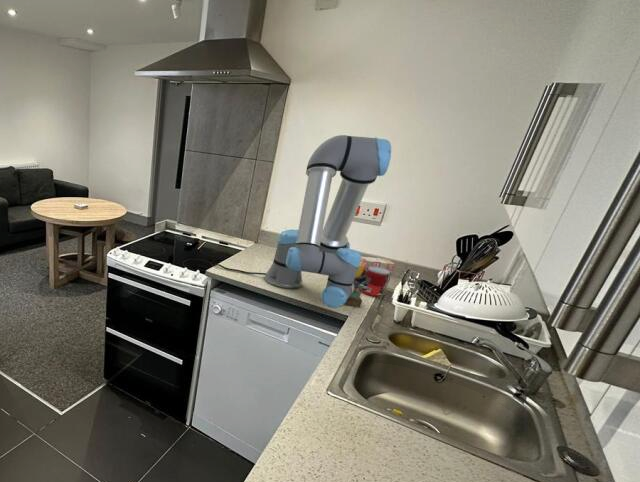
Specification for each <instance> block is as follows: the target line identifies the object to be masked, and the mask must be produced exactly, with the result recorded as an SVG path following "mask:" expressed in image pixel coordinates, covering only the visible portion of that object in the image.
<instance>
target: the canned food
mask: <svg viewBox="0 0 640 482" xmlns="http://www.w3.org/2000/svg"><path fill="white" fill-rule="evenodd" d="M389 274H390V272H389V271H388V270H386V269H383V268H379V267H369V268H368V270H367V273H366V275H367V278H368V277H370V278H371V280H370V283H369V285H368V286H367V289H366V291H365V290H362V289H361V288H360V291H361V294H364V295H366V296H370V297H375V298H379V297H381V296H382V295H377V294H379V293H382V294H383V292H384V290H385V289H384V287H385V285H386V282H387V279H388V277H389Z"/></svg>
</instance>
